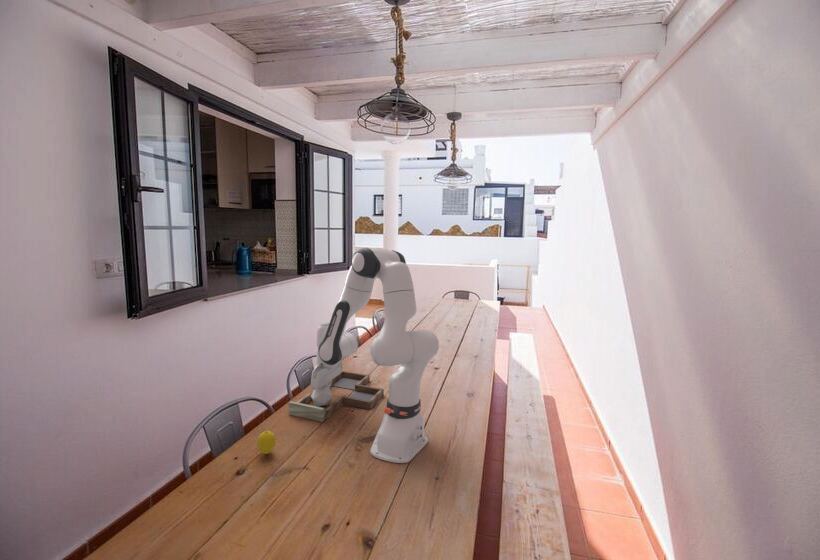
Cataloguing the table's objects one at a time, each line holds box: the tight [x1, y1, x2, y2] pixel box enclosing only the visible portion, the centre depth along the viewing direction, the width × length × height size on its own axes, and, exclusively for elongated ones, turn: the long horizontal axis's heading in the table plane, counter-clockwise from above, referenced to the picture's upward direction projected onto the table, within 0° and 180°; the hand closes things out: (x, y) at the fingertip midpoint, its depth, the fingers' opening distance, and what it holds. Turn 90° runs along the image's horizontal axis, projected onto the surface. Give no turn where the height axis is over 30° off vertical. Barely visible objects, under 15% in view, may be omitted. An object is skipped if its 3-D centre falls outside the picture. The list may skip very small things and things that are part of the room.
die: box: [311, 386, 334, 407], centre depth 158 cm, size 8×9×10 cm
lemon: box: [256, 430, 277, 455], centre depth 124 cm, size 6×6×8 cm
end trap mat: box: [331, 378, 360, 391], centre depth 181 cm, size 10×12×1 cm
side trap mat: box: [348, 390, 374, 401], centre depth 166 cm, size 11×12×1 cm
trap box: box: [288, 370, 385, 423], centre depth 166 cm, size 42×28×5 cm, turn 161°
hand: (327, 390), depth 163 cm, fingers closed
